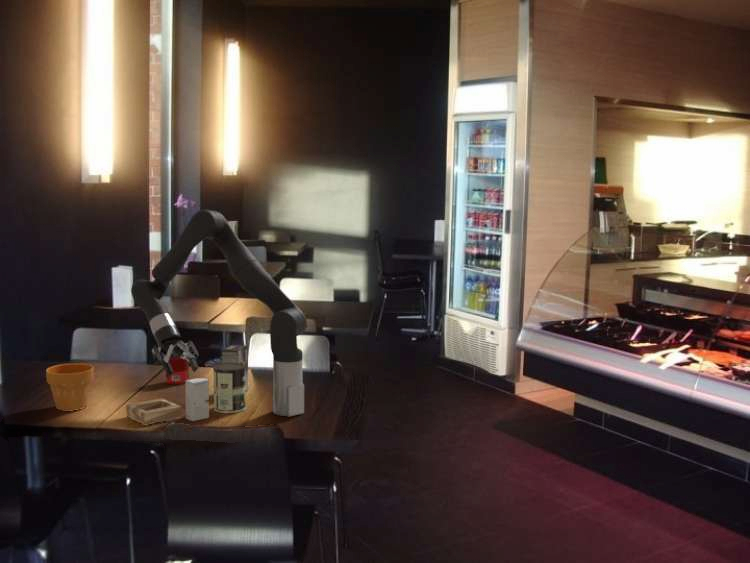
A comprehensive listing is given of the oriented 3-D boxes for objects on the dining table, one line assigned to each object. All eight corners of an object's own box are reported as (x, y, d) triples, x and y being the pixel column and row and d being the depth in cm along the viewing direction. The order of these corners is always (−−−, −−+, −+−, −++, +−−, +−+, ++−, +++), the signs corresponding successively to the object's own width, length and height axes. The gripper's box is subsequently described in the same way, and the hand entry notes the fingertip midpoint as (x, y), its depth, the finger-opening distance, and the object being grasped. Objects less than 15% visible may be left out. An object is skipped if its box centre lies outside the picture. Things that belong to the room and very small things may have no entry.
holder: (181, 418, 249) (180, 406, 249) (145, 425, 241) (145, 413, 241) (161, 409, 258) (161, 398, 258) (126, 416, 250) (126, 404, 249)
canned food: (193, 382, 292) (192, 352, 291) (174, 386, 286) (173, 356, 285) (181, 378, 297) (180, 349, 296) (162, 382, 291) (161, 352, 290)
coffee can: (243, 403, 267) (243, 361, 265) (247, 412, 257) (247, 369, 255) (212, 405, 264) (211, 363, 262) (215, 414, 254) (214, 370, 252)
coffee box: (231, 388, 284) (231, 344, 282) (248, 390, 283) (248, 345, 281) (221, 395, 275) (220, 349, 273) (239, 397, 274) (238, 350, 272)
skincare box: (192, 421, 246) (192, 383, 245) (185, 418, 249) (184, 380, 248) (210, 417, 250) (209, 379, 249) (202, 414, 254) (201, 376, 252)
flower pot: (68, 417, 249) (67, 375, 247) (37, 409, 255) (36, 369, 254) (104, 406, 261) (103, 366, 259) (73, 399, 268) (72, 361, 266)
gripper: (148, 326, 254) (167, 369, 247) (188, 321, 263) (207, 362, 257) (140, 340, 258) (159, 382, 252) (180, 335, 268) (199, 375, 261)
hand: (183, 372), depth 254 cm, fingers open, 8 cm apart
